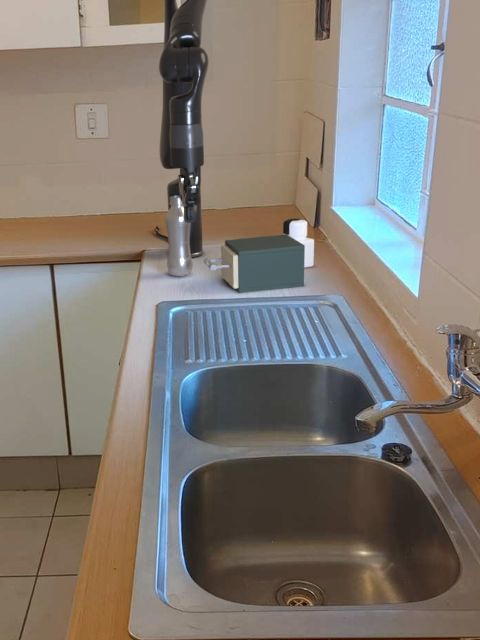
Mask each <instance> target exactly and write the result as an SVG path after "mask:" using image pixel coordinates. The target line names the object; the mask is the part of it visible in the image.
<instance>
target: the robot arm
mask: <svg viewBox="0 0 480 640" xmlns="http://www.w3.org/2000/svg"><path fill="white" fill-rule="evenodd" d="M207 3H208V0H186V1H184V2H183V3H182V4H181V5H180V6H179V7H178V3H177V0H163V23H164V24H163V25H164V27H163V28H164V29H163V49H162V52H161V54H160V57H159V62H158V71H159V76H160V77H161V79H162V110H161V111H162V112H161V122H160V123H161V124H160V126H161V127H160V134H159V135H160V136H159V150H158V151H159V160H160V164H161V166H162V168H163V169H165V170H179V174H178V175H177V178H176V179H174V180H172V181H170V182H168V184H167V186H166V192H167V212H168V211H169V209H170V208H171V205H170V197H171V196H180V197H181V198H180V199H181V201H182V204H183V205H184V221H185V222H186V223H191V225H190V238H189V240H190V243H189V244H190V253H191V258H192V259H193V258H197V257H200V256H202V255H203V254H204V249H203V219H202V193H201V192H202V191H201V190H202V189H201V187H202V166H204V164H205V151H204V150H205V149H204V147H205V146H204V145H205V144H204V129H203V123H202V122H203V120H202V119H203V118H202V117H203V116H202V113H203V112H202V99H203V92H204V85H205V82H206V78H207V74H208V70H209V61H210V60H209V56H208V53H207V52H206V50H205V48H203V47H201V46H202V31H203V30H202V29H203V20H204V15H205V12H206V7H207ZM158 227H159V226H158V225H156V227H155V235H157V236H158V237H160V238H163V239H165V240H167V241H169V240H168V235H164V234H161V233H159V230H160V227H159V228H158ZM156 229H158V231H156Z"/></svg>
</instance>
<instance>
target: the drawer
mask: <svg viewBox="0 0 480 640" xmlns="http://www.w3.org/2000/svg"><path fill="white" fill-rule="evenodd" d="M217 262H218V263H219V262H220V263H221V264H217V265H215V263H217ZM203 263H204V264H205V266H207V267H208V268H209V269H210V270H211V271H216V269H221V277H222V278H223V280H225V281H226V283H228V285H229V286H230V287H232V289H235V290H236V288H239V279H238V254H237V253H235V252H234V251H233V250H231V249H230V248H229V247H228V246H227V245H225V244H221V245H220V258H211V259H210V258H209V257H206V258H204V259H203Z"/></svg>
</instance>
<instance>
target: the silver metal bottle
mask: <svg viewBox="0 0 480 640" xmlns="http://www.w3.org/2000/svg"><path fill="white" fill-rule="evenodd" d="M180 198H181V197H180V196H171V197H170V205H171V208H170V209H169V211H168V210H167V212H166V214H165V218H164V219H165V227H166V232H167V237H168V240H167V241H168V251H167V252H168V253H167V260H166V268H167V272H168V273H169V275H171V276H175V277H176V276H177V277H183V276H188V275H190V274H191V273H192V271H193V266H194V265H193V257H192V258H191V253H190V244H189V243H190V240H189V238H190V225H191V223H186V222H185V221H184V205H183V204H182V201H181V199H180Z"/></svg>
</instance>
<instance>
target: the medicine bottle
mask: <svg viewBox="0 0 480 640" xmlns="http://www.w3.org/2000/svg"><path fill="white" fill-rule="evenodd" d="M286 234H287V235H288V236H290V237H292V238H293V239H295V240H297V241H298V242H300V243H301V244H303V245H305V256H304V269H306V268H311V267H314V265H315V264H314V262H315V261H314V260H315V239H314V238H310V237H307V236H308V221H307V220H306V219H303V218H288V219H286V220H284V221H283V223H282V235H286Z"/></svg>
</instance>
